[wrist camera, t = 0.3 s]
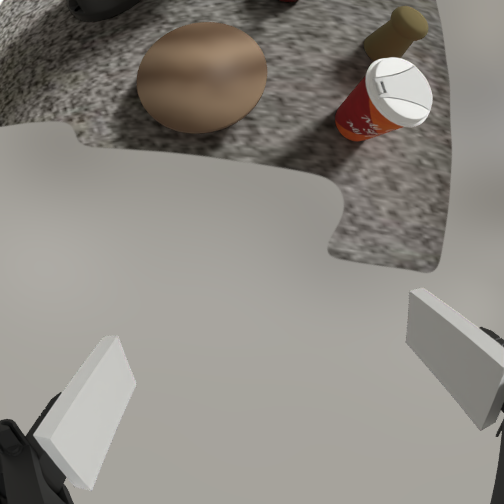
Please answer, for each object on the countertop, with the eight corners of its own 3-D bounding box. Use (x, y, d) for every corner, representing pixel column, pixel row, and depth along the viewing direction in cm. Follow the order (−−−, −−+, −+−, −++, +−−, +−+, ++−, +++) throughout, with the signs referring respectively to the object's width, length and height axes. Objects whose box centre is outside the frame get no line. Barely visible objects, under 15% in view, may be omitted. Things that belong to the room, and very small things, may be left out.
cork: (378, 30, 35) (410, -5, 24) (404, 58, 36) (441, 28, 25) (356, 43, 35) (386, 6, 24) (383, 73, 36) (421, 42, 25)
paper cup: (335, 152, 37) (385, 126, 23) (320, 98, 36) (360, 51, 22) (385, 145, 38) (446, 122, 24) (370, 95, 36) (423, 55, 23)
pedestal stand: (144, 55, 34) (134, 37, 28) (252, 36, 34) (255, 15, 29) (154, 153, 36) (142, 144, 30) (271, 132, 36) (278, 120, 31)
